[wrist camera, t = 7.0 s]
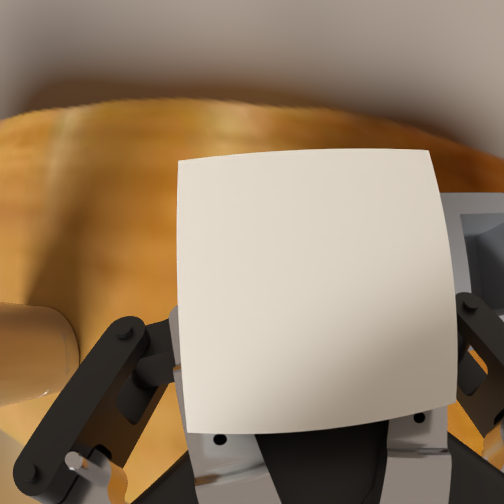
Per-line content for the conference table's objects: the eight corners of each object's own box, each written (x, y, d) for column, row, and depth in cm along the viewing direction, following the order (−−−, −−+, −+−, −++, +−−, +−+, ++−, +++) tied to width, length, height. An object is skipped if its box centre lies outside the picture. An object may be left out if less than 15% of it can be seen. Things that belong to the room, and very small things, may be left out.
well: (386, 366, 24) (429, 387, 15) (371, 207, 27) (404, 164, 18) (505, 338, 23) (562, 341, 14) (488, 203, 26) (538, 171, 17)
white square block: (252, 345, 18) (187, 433, 4) (248, 269, 19) (178, 160, 5) (328, 339, 18) (455, 402, 4) (323, 264, 19) (428, 150, 5)
